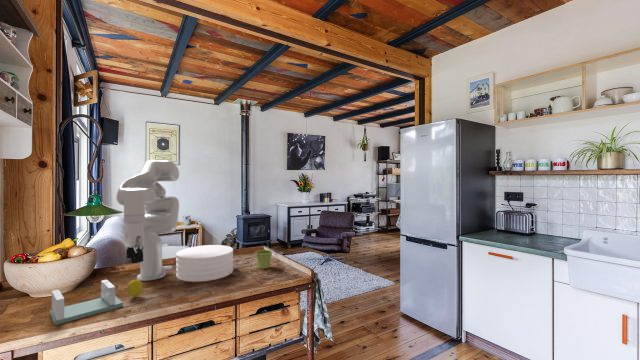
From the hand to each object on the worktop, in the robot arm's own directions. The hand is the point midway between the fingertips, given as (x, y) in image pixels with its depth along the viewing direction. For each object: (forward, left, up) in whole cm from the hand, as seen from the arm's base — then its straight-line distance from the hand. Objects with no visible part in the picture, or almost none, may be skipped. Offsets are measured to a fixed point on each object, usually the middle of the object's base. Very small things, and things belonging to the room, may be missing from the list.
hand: (134, 259), depth 125 cm
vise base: (+16, 0, -16) cm, 22 cm away
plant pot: (-62, +6, -16) cm, 65 cm away
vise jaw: (+9, 0, -14) cm, 17 cm away
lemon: (0, 0, -16) cm, 16 cm away
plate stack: (-36, -10, -16) cm, 41 cm away
